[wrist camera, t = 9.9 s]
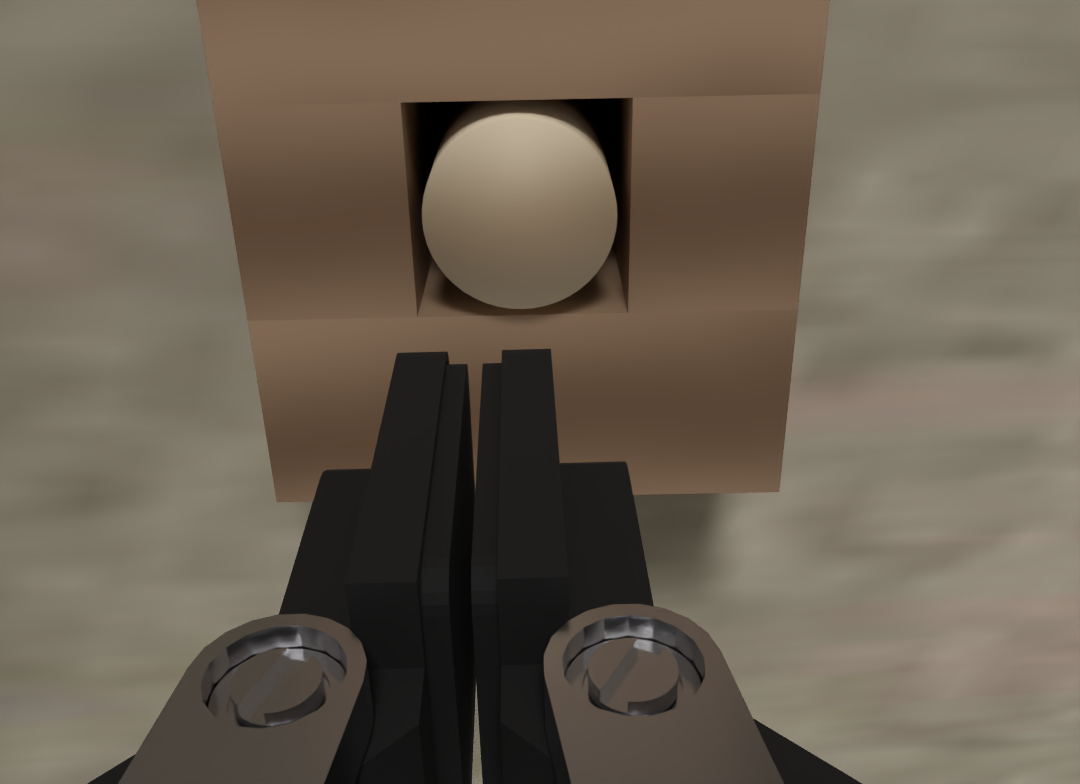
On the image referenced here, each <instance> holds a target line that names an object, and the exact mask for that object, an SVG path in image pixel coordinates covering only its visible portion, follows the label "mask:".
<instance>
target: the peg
mask: <svg viewBox="0 0 1080 784" xmlns="http://www.w3.org/2000/svg"><path fill="white" fill-rule="evenodd" d="M422 224H423V231H424V235H425V239H426V243H427V246H428V248H429V250H430V253H431V255H432V257H433V259H434V260H435V262H436V264H437V265H438V267H439V268H440V269H441V271H442V272H443V273H444V274H445V276H446V277H447V278H448V279H449V280H450V281H451V282H452V283H453V284H454V285H456V286H457V287H458V288H459V289H461V290H462V291H463V292H465V293H467V294H468V295H470V296H472V297H473V298H475V299H478V300H480V301H482V302H485V303H487V304H491V305H494V306H498V307H503V308H509V309H529V308H537V307H542V306H547V305H550V304H553V303H556V302H558V301H561V300H563V299H565V298H567V297H569V296H570V295H572V294H574V293H575V292H577V291H578V290H580V289H581V288H582V287H583V286H584V285H586V284H587V283H588V282H589V281H590V280H591V279H592V278H593V277H594V276H595V274H596V273H597V272H598V271H599V269H600V268H601V266H602V265H603V264H604V262H605V260H606V258H607V256H608V254H609V252H610V250H611V247H612V244H613V241H614V237H615V233H616V227H617V203H616V197H615V192H614V188H613V184H612V180H611V177H610V173H609V169H608V165H607V161H606V157H605V154H604V150H603V146H602V142H601V138H600V134H599V131H598V127H597V124H596V121H595V118H594V116H593V114H592V112H591V109H590V108H589V106H588V105H587V103H586V102H585V100H584V99H547V100H499V101H457V103H456V104H455V106H454V108H453V109H452V111H451V113H450V116H449V118H448V121H447V124H446V127H445V130H444V133H443V136H442V139H441V142H440V145H439V148H438V151H437V154H436V157H435V160H434V163H433V166H432V169H431V173H430V176H429V179H428V182H427V185H426V189H425V192H424V196H423V204H422Z"/></svg>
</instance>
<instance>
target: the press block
mask: <svg viewBox="0 0 1080 784" xmlns="http://www.w3.org/2000/svg"><path fill="white" fill-rule="evenodd" d="M196 1H197V7H198V13H199V19H200V26H201V32H202V38H203V44H204V51H205V57H206V63H207V69H208V76H209V82H210V88H211V94H212V100H213V107H214V113H215V119H216V125H217V132H218V138H219V144H220V150H221V157H222V163H223V169H224V175H225V182H226V188H227V194H228V200H229V206H230V213H231V219H232V225H233V231H234V238H235V244H236V250H237V256H238V263H239V269H240V275H241V281H242V287H243V294H244V300H245V306H246V312H247V319H248V325H249V331H250V337H251V344H252V350H253V356H254V362H255V368H256V375H257V381H258V387H259V393H260V400H261V406H262V412H263V418H264V425H265V431H266V437H267V443H268V449H269V456H270V462H271V468H272V474H273V481H274V487H275V493H276V499H277V502H311V501H313V500H314V497H315V493H316V490H317V487H318V483H319V480H320V478H321V475H322V473H323V471H325V470H334V469H370V468H371V466H372V461H373V457H374V452H375V448H376V444H377V439H378V435H379V430H380V426H381V421H382V417H383V412H384V408H385V404H386V399H387V395H388V390H389V386H390V381H391V377H392V373H393V368H394V364H395V359H396V355H397V353H408V352H445V351H447V352H448V355H449V363H450V364H467V366H468V375H469V391H470V409H471V426H472V443H473V461H474V478H475V487H476V470H477V452H478V435H479V417H480V399H481V382H482V365H483V363H502V350H519V349H551V356H552V369H553V382H554V395H555V408H556V421H557V434H558V447H559V460H560V463H581V462H616V461H625V462H626V463H627V466H628V470H629V476H630V481H631V486H632V492H633V495H653V494H701V493H750V492H779V488H780V478H781V469H782V459H783V449H784V439H785V430H786V420H787V410H788V401H789V391H790V381H791V371H792V362H793V352H794V342H795V332H796V323H797V313H798V303H799V293H800V284H801V274H802V264H803V255H804V245H805V235H806V225H807V216H808V206H809V196H810V186H811V177H812V167H813V157H814V147H815V138H816V128H817V118H818V109H819V99H820V89H821V79H822V70H823V60H824V50H825V40H826V31H827V21H828V11H829V1H830V0H196ZM595 98H611V132H610V177H611V180H612V184H613V188H614V192H615V197H616V203H617V227H616V233H615V237H614V241H613V244H612V247H611V250H610V252H609V254H608V256H607V258H606V260H605V262H604V264H603V265H602V266H601V268H600V269H599V271H598V272H597V273H596V274H595V276H594V277H593V278H592V279H591V280H590V281H589V282H588V283H587V284H586V285H584V286H583V287H582V288H581V289H580V290H578V291H577V292H575V293H574V294H572V295H570V296H569V297H567V298H565V299H563V300H561V301H558V302H556V303H553V304H550V305H547V306H542V307H537V308H529V309H509V308H503V307H498V306H494V305H491V304H487V303H485V302H482V301H480V300H478V299H475V298H473V297H472V296H470V295H468V294H467V293H465V292H463V291H462V290H461V289H459V288H458V287H457V286H456V285H454V284H453V283H452V282H451V281H450V280H449V279H448V278H447V277H446V276H445V274H444V273H443V272H442V271H441V269H440V268H439V267H438V265H437V264H436V262H435V260H434V259H433V257H432V255H431V253H430V250H429V248H428V246H427V243H426V239H425V235H424V231H423V224H422V204H423V196H424V192H425V189H426V185H427V182H428V179H429V176H430V173H431V169H432V166H433V163H434V146H433V131H432V116H431V102H451V101H499V100H547V99H595Z"/></svg>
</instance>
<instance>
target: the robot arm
mask: <svg viewBox="0 0 1080 784" xmlns="http://www.w3.org/2000/svg"><path fill="white" fill-rule="evenodd" d="M476 684H477V699H478V715H479V731H480V746H481V762H482V778H483V784H862V783H860V782H858V781H857V780H855V779H853V778H852V777H850V776H848V775H847V774H845V773H843V772H842V771H840V770H838V769H837V768H835V767H833V766H832V765H830V764H828V763H827V762H825V761H823V760H822V759H820V758H818V757H817V756H815V755H813V754H812V753H810V752H808V751H807V750H805V749H803V748H802V747H800V746H798V745H797V744H795V743H793V742H792V741H790V740H788V739H787V738H785V737H783V736H782V735H780V734H778V733H777V732H775V731H773V730H772V729H770V728H768V727H767V726H765V725H763V724H762V723H760V722H758V721H757V720H755V719H753V718H752V715H751V713H750V711H749V709H748V707H747V705H746V703H745V701H744V699H743V697H742V695H741V692H740V690H739V688H738V686H737V684H736V682H735V680H734V678H733V676H732V674H731V671H730V669H729V667H728V665H727V663H726V661H725V659H724V657H723V655H722V653H721V651H720V649H719V648H718V646H717V645H716V644H715V642H714V641H713V639H712V638H711V637H710V635H709V634H708V633H707V632H706V631H705V630H703V629H702V628H701V627H699V626H698V625H697V624H695V623H694V622H693V621H691V620H690V619H689V618H686V617H684V616H682V615H679V614H677V613H674V612H672V611H670V610H667V609H665V608H659V607H654V605H653V600H652V594H651V589H650V584H649V578H648V573H647V567H646V562H645V557H644V551H643V546H642V540H641V535H640V530H639V524H638V519H637V513H636V508H635V503H634V497H633V492H632V486H631V481H630V476H629V470H628V466H627V463H626V462H625V461H616V462H581V463H560V460H559V447H558V434H557V421H556V408H555V395H554V382H553V369H552V356H551V349H519V350H502V363H483V365H482V382H481V399H480V417H479V435H478V452H477V470H476V487H475V478H474V461H473V443H472V426H471V409H470V391H469V375H468V366H467V364H450V363H449V355H448V352H447V351H445V352H408V353H397V355H396V359H395V364H394V368H393V373H392V377H391V381H390V386H389V390H388V395H387V399H386V404H385V408H384V412H383V417H382V421H381V426H380V430H379V435H378V439H377V444H376V448H375V452H374V457H373V461H372V466H371V468H370V469H334V470H325V471H323V473H322V475H321V478H320V480H319V483H318V487H317V490H316V493H315V497H314V500H313V503H312V506H311V510H310V513H309V516H308V520H307V523H306V526H305V530H304V533H303V536H302V540H301V543H300V546H299V550H298V553H297V556H296V559H295V563H294V566H293V569H292V573H291V576H290V579H289V583H288V586H287V589H286V593H285V596H284V599H283V603H282V606H281V609H280V612H279V615H274V616H270V617H266V618H262V619H257V620H253V621H250V622H248V623H245V624H243V625H241V626H239V627H236V628H234V629H232V630H230V631H228V632H225V633H224V634H223V635H221V636H220V637H219V638H217V639H216V640H214V641H213V642H212V643H210V644H209V645H208V646H206V647H205V648H204V649H203V650H202V651H201V652H200V653H199V655H198V656H197V657H196V658H195V659H194V661H193V662H192V663H191V664H190V666H189V667H188V668H187V670H186V672H185V673H184V675H183V677H182V678H181V680H180V682H179V683H178V685H177V687H176V688H175V690H174V692H173V693H172V695H171V697H170V698H169V700H168V702H167V703H166V705H165V707H164V708H163V710H162V712H161V713H160V715H159V717H158V718H157V720H156V722H155V723H154V725H153V726H152V728H151V730H150V731H149V733H148V735H147V736H146V738H145V740H144V741H143V743H142V745H141V746H140V748H139V750H138V751H137V753H136V754H135V755H133V756H132V757H130V758H128V759H127V760H125V761H124V762H122V763H120V764H119V765H117V766H115V767H114V768H112V769H111V770H109V771H107V772H106V773H104V774H102V775H101V776H99V777H98V778H96V779H94V780H93V781H91V782H89V783H88V784H472V762H473V739H474V715H475V692H476Z"/></svg>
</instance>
